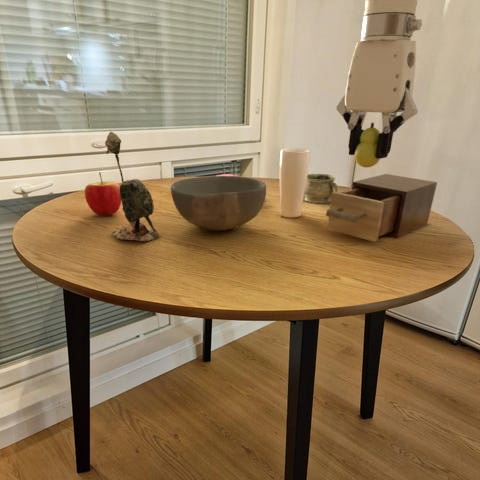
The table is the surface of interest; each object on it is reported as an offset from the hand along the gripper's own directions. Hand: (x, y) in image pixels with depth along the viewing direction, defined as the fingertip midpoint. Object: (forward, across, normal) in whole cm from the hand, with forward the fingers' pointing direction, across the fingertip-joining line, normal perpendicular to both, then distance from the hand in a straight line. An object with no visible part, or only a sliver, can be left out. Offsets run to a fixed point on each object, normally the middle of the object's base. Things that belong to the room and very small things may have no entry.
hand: (367, 154), depth 74 cm
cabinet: (+18, +4, -21) cm, 28 cm away
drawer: (+17, +4, -9) cm, 20 cm away
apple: (+17, +54, +22) cm, 61 cm away
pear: (+2, 0, 0) cm, 2 cm away
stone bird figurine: (+18, +34, +27) cm, 47 cm away
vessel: (+18, +29, -28) cm, 44 cm away
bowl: (+18, +28, +10) cm, 35 cm away
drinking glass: (+18, +24, -10) cm, 31 cm away
